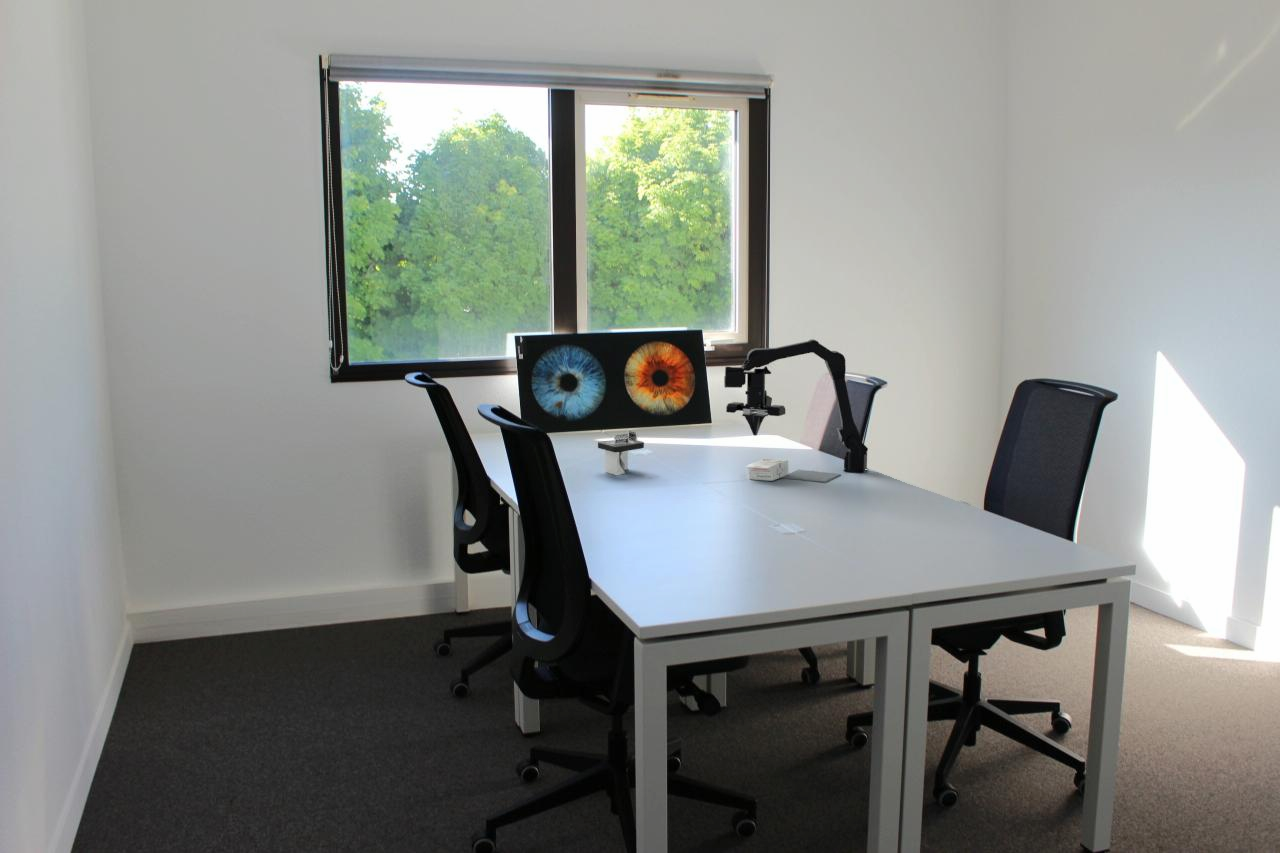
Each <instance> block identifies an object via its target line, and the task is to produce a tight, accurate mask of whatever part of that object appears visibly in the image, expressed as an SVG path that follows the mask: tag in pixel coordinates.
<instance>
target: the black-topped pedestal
mask: <svg viewBox="0 0 1280 853" xmlns="http://www.w3.org/2000/svg"><path fill="white" fill-rule="evenodd" d="M623 437H625V438H623ZM613 438H614V440H605V441H598V442H597V448H598V449H600V450H604V472H605V473H607V474H611V475H614V476H620V475H623V474H626V473H625V471H626V470H628V469H629V451H633V450H635V451H636V450H639V449H645V442H644V441H641V440H638V432H634V431H632V430H631V431H630V430H627V433H625V434H620V435H619V434H617V435H616V434H613Z"/></svg>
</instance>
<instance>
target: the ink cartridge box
mask: <svg viewBox="0 0 1280 853" xmlns="http://www.w3.org/2000/svg"><path fill="white" fill-rule="evenodd" d="M745 468H748V478H749V480H755V481H757V480H758V481H768V482H771V481H776V480H777V479H780V478H782V477H783V476H786V475H788V474H789V473H790V472H789V460H788V459H771V458H770V459H767V458H766V459H765V458H763V459H761V460H759V461H755V462H752V463H749V464H747V465H745Z"/></svg>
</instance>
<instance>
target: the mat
mask: <svg viewBox="0 0 1280 853" xmlns="http://www.w3.org/2000/svg"><path fill="white" fill-rule="evenodd" d="M840 476H841V473H834V472H827V471H826V472H825V471H818V470H817V471H816V470H815V471H814V470H806V469H797V470H794V471H792V472H789V474H788V475H786V476H783V477H781V479H786V480H787V479H788V480H796V481H797V480H798V481H804V482H815V483H822V484H823V483H824V484H826V483H828V482H829V481H832V480H834V479H835V478H838V477H840Z"/></svg>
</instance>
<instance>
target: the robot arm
mask: <svg viewBox="0 0 1280 853" xmlns="http://www.w3.org/2000/svg"><path fill="white" fill-rule="evenodd" d="M811 353H813V354H815V355H816V356H817V357H819V358H820V359H822V360H824V363H825V365H826V369H827V371H828V373H829V375H830V378H831V380H832V384H833V389H834V393H835V394H834V395H835V397H836V398H835V399H836V404H837V409H838V413H839V418H840V419H839V420H840V426H837V427H836V431H837V433H838V440H839V441H840V442H841V443H842V444H843V446H845V447H846V450H847V451H845V455H844V456H843V472H845V473H846V472H847V473H858V474H863V473H865V472H867V471H868V470H869V468H868V466H867V465H868V450H869V448H868V447H867V446H866V445H865V444H864V443H863V441H862V436H861V434H860V432H859V428H857V425H856V424H855V420H854V418H853V416H854V415H853V412H852V407H851V406H852V405H851V402H850V396H849V391H848V386H847V382H846V371H847V370H846V358H845V356H844V355H843V354H842V353H841V352H839V351H837V350H830V349H829V348H827V347H826V346H824V345H822V344H821V343H820V342H819V341H818V340H816V339H809V340H807V341H802V342H801V341H800V342H796V343H792V344H791V343H790V344H789V345H788V344H787V345H783V346H777V347H761V348H760V347H757V348H756V347H755V348H752V349H750V350H749V351H748V352H747V356H746V360H745V361H744V362H743V363H742V365H741V366H724V367H725V370H724V376H723V379H724V380H723V382H724V383H723V384H724V388H732V389H733V388H737V389H739V388H740V389H742V388H743V386H744V385H746V390H745V395H746V403H745V404H744V402H735V401H733V402H729V403H727V405H726V411H725V412H726V413H732V414H733V413H734V414H735V413H736V412H737V411H741V412H742V414H741V416H742V417H744V418H745V420H746V421H747V423H748V426H749V428H750V430H751V433H752V434H753V436H758V433H759V430H760V428H761V425H762V423H763V420H764V419H765V418H766V417H769V416H772V417H773V416H774V417H780V416H783V415H786V408H785V406H784V405H780V404H773V397H771V396H769V395H768V393H767V390H766V375H771V374H772V371H771V370H769V369H768V367H767V365H769V364H771V363H773V362H775V361H778V360H782V359H787V358H792V357H797V356H800V355H801V356H802V355H805V354H806V355H807V354H811ZM762 367H763V368H762ZM753 369H754V370H753ZM752 370H753V371H752ZM746 375H747V376H746ZM746 377H747V381H746ZM746 382H747V383H746ZM865 469H868V470H865Z"/></svg>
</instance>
